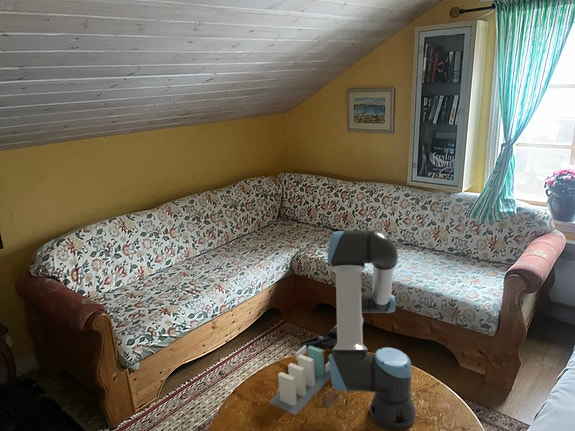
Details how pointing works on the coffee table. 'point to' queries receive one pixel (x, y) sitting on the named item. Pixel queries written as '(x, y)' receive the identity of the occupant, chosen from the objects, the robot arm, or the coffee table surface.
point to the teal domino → (317, 360)
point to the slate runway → (302, 399)
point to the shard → (331, 398)
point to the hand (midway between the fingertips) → (310, 362)
